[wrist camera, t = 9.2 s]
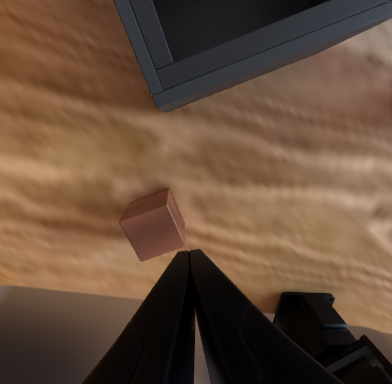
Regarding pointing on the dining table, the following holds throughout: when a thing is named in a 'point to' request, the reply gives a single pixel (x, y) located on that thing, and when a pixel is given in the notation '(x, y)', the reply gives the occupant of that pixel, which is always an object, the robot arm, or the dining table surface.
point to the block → (154, 225)
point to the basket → (233, 39)
